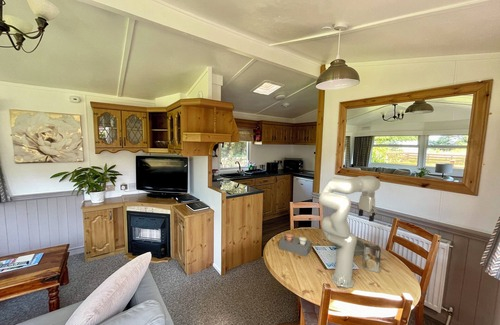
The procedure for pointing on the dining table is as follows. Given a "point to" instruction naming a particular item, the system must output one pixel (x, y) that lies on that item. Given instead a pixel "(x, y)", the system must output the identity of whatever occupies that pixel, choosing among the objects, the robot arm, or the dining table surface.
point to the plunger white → (302, 240)
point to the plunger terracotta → (289, 237)
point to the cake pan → (356, 248)
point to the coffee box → (371, 257)
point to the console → (295, 246)
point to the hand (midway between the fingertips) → (365, 218)
